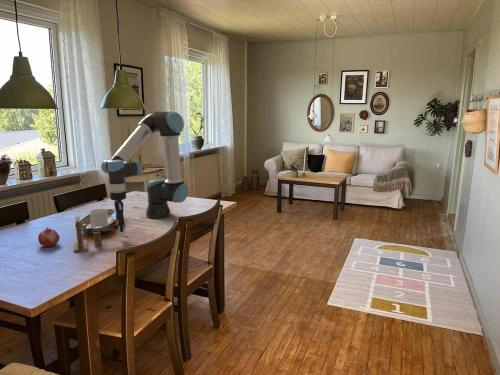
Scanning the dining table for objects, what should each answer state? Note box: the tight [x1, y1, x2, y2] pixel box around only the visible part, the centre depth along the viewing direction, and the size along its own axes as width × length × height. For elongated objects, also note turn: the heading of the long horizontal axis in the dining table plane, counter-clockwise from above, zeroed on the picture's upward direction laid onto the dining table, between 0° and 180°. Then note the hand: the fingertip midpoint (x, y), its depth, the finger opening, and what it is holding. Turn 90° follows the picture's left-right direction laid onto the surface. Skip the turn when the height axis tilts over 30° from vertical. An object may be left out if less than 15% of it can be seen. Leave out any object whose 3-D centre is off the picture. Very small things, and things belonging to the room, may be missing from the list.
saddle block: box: [93, 232, 102, 248], centre depth 184 cm, size 3×5×6 cm, turn 25°
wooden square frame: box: [73, 216, 89, 253], centre depth 179 cm, size 6×12×14 cm, turn 25°
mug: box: [89, 208, 109, 228], centre depth 206 cm, size 12×9×11 cm
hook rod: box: [82, 219, 126, 235], centre depth 184 cm, size 19×6×7 cm, turn 115°
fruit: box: [37, 226, 60, 248], centre depth 182 cm, size 9×10×10 cm
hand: (121, 235), depth 188 cm, fingers closed on hook rod, 6 cm apart
